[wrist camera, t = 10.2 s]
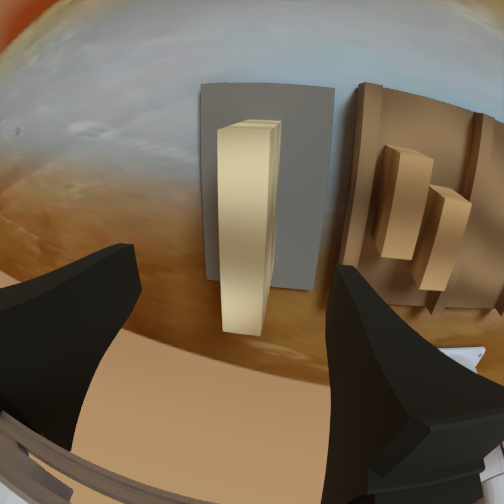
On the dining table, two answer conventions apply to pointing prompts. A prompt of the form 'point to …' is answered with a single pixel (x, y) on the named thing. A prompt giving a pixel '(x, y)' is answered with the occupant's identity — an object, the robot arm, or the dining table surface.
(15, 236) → the dining table surface
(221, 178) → the birch panel
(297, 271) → the charcoal mat
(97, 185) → the dining table surface
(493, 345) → the dining table surface
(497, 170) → the walnut rack
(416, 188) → the teak offcut
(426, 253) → the teak offcut
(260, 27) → the dining table surface
